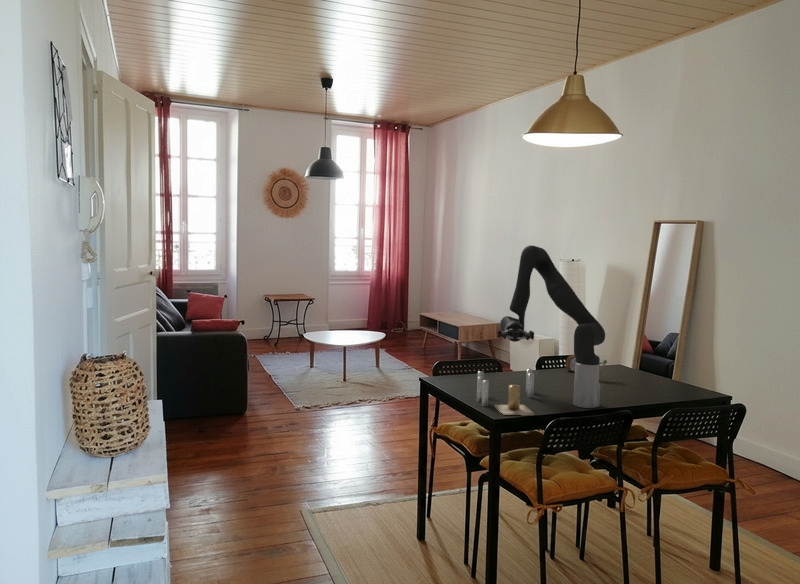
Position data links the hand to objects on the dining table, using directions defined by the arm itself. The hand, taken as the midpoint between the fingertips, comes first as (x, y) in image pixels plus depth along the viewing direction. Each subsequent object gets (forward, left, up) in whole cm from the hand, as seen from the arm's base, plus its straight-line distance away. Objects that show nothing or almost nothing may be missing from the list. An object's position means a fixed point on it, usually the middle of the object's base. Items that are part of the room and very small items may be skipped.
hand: (516, 337), depth 235 cm
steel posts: (-2, -14, -28) cm, 32 cm away
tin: (-56, -68, -28) cm, 93 cm away
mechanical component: (-56, -48, -28) cm, 79 cm away
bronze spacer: (+1, +4, -27) cm, 27 cm away
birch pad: (+1, +4, -28) cm, 28 cm away
